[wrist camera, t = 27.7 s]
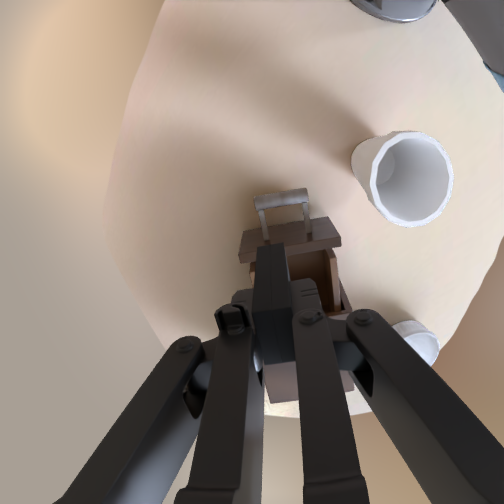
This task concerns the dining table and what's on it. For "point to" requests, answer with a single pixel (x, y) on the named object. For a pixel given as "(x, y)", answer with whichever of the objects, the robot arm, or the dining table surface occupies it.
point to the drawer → (298, 246)
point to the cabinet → (284, 374)
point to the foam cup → (404, 176)
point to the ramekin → (419, 339)
